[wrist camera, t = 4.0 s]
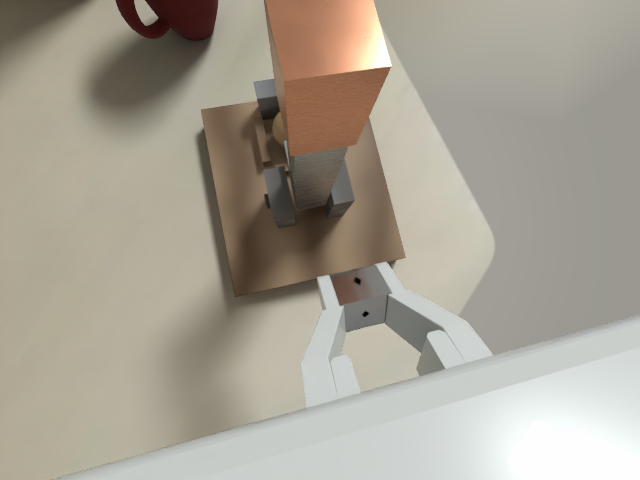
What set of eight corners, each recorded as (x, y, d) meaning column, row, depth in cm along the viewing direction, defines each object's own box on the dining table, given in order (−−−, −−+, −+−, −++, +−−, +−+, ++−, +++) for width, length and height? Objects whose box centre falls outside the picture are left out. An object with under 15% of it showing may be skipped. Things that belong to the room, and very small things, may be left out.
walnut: (286, 163, 23) (284, 144, 20) (267, 133, 24) (262, 110, 20) (317, 146, 24) (320, 124, 20) (298, 117, 24) (298, 91, 21)
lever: (295, 213, 20) (283, 81, 6) (283, 160, 20) (248, -77, 6) (328, 206, 20) (391, 65, 6) (316, 154, 21) (349, -84, 7)
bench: (240, 294, 24) (215, 304, 17) (208, 122, 25) (174, 66, 18) (397, 258, 25) (434, 254, 18) (356, 99, 27) (375, 40, 20)
